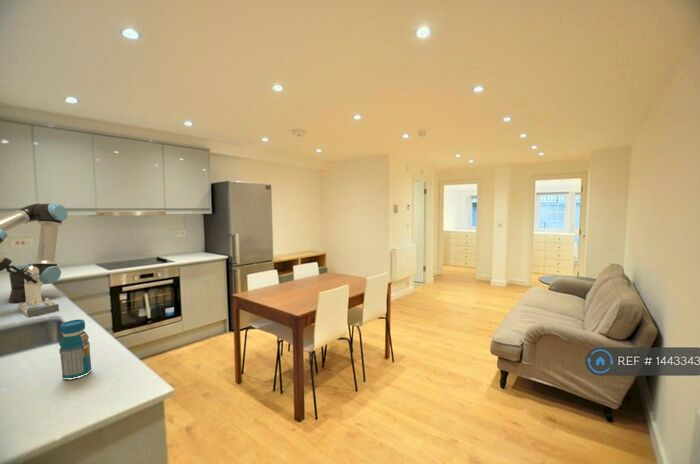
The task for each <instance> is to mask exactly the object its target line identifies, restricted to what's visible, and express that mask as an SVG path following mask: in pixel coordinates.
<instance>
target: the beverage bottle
mask: <svg viewBox="0 0 700 464" xmlns="http://www.w3.org/2000/svg"><path fill="white" fill-rule="evenodd" d="M59 328H60V330H59V331H60V334H61V335H62V336H61V337H60V340H59V342H58V345H59V346H60V347H59V349H58V351H59V352H58V353H59V355H60V357H59V358H60V364H61V373H62V374H61V377H62V379H63V378H74V377H78V376H81V375H84V374H86V373H88V372H89V371H90V370H91V369H92V364H91V363H92V362H91V359H92V358H91V349H90V346H91V344H90V341H89V339H90V338H89V337H90V336H89V335H88V333H87V332H86V331H85V329H86V322H85V320H84V319H80V318H79V319H73V320H68V321H65V322H63V323H61V324H60V326H59ZM91 371H92V370H91Z"/></svg>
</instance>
